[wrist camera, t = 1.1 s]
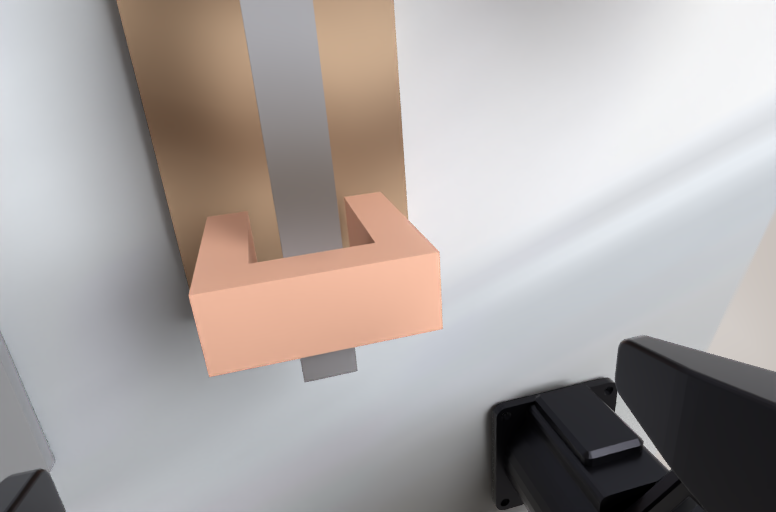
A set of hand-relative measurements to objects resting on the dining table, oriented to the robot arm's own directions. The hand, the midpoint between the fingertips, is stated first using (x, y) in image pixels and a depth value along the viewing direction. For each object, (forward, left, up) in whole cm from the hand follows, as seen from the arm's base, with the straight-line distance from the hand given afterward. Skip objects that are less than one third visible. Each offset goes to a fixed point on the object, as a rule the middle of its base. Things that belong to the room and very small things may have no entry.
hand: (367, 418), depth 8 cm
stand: (+3, 0, -12) cm, 12 cm away
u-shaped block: (0, 0, -9) cm, 9 cm away
